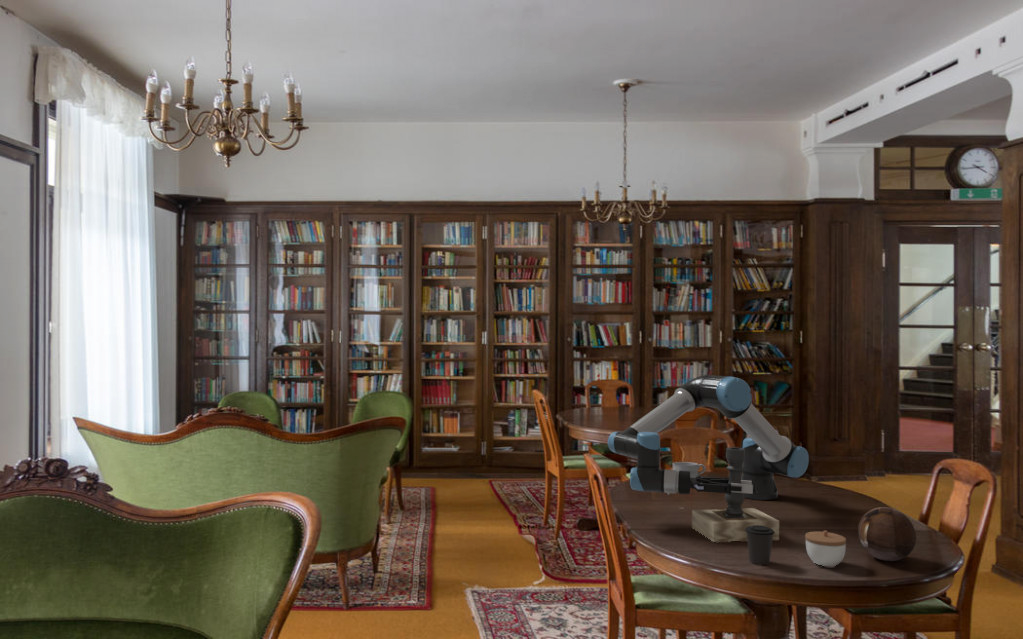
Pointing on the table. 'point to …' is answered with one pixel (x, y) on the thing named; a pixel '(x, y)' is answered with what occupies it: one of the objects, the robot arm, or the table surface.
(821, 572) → the table surface
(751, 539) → the coffee cup
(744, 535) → the socket block
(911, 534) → the clear glass sphere
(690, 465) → the teacup
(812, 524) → the table surface
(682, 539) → the table surface
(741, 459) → the candle holder
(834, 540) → the lidded jar
